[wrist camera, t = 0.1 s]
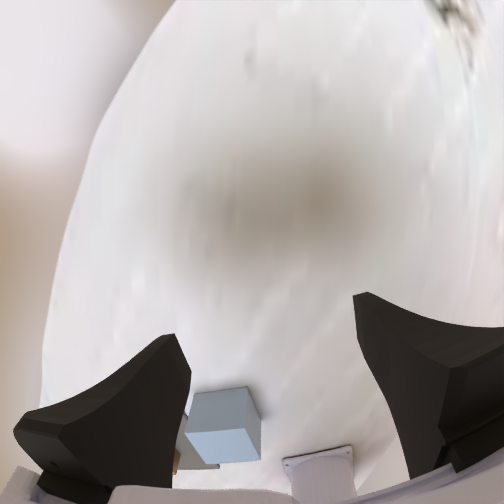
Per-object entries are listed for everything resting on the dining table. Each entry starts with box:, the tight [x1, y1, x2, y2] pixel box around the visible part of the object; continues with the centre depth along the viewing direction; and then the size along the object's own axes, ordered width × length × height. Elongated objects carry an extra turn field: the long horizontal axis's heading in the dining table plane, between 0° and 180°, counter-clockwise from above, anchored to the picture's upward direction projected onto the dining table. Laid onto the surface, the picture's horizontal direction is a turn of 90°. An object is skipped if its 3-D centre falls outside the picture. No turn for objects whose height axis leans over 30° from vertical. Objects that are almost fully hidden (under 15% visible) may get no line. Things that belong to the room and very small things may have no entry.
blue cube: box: [184, 387, 261, 464], centre depth 23 cm, size 5×5×5 cm
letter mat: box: [175, 412, 220, 470], centre depth 28 cm, size 13×13×1 cm
